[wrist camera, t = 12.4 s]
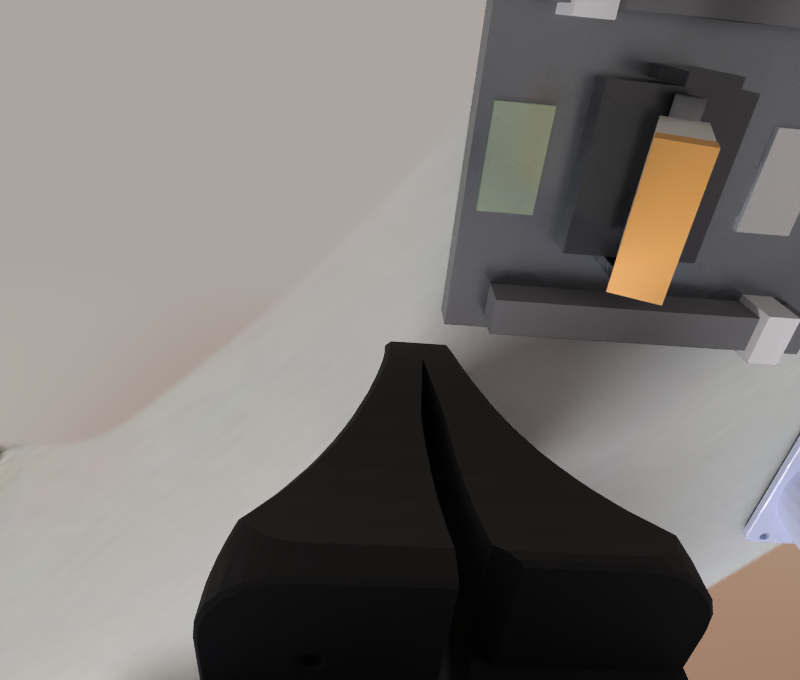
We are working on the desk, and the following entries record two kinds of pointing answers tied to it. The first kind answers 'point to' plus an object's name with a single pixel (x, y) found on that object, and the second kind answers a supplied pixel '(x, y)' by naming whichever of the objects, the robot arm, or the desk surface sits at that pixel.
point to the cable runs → (678, 316)
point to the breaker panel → (623, 153)
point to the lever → (665, 201)
